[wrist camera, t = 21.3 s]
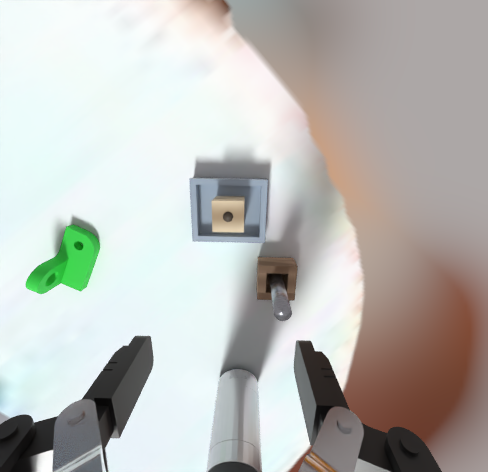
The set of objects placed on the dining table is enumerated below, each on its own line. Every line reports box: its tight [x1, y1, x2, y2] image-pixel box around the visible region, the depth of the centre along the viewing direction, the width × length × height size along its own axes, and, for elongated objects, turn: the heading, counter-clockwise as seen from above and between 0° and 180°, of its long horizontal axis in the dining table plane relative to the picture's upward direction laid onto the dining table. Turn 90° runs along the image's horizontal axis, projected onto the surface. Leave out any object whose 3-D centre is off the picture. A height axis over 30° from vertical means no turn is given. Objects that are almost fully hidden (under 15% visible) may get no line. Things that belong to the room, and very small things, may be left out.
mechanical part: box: [26, 224, 100, 294], centre depth 43 cm, size 12×6×8 cm, turn 153°
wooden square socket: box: [257, 257, 298, 300], centre depth 45 cm, size 7×7×4 cm
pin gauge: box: [269, 273, 292, 321], centre depth 40 cm, size 3×3×12 cm
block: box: [212, 196, 245, 232], centre depth 39 cm, size 5×5×6 cm
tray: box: [190, 178, 268, 243], centre depth 41 cm, size 11×13×3 cm
